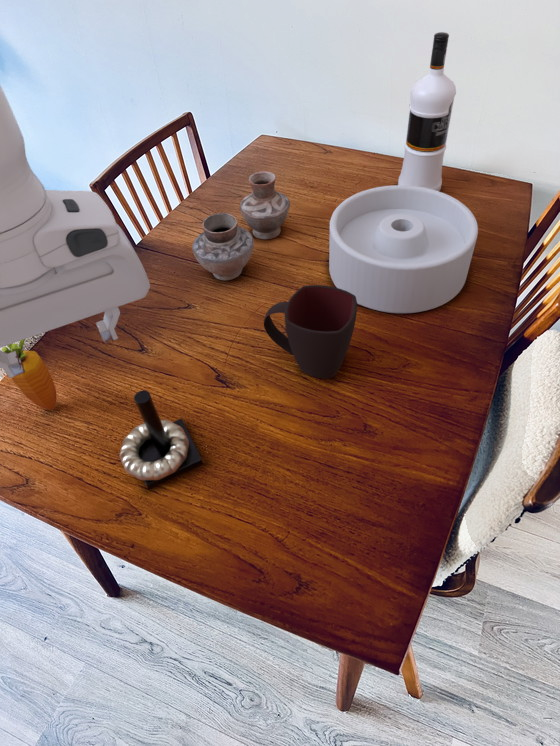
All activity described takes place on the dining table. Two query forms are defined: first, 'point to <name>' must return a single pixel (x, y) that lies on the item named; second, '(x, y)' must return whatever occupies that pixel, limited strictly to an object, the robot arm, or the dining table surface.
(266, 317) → the cup
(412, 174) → the vodka
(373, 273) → the container
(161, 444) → the peg stand
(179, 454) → the ring
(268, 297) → the dining table surface
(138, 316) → the dining table surface
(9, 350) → the carrot
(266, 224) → the pottery
